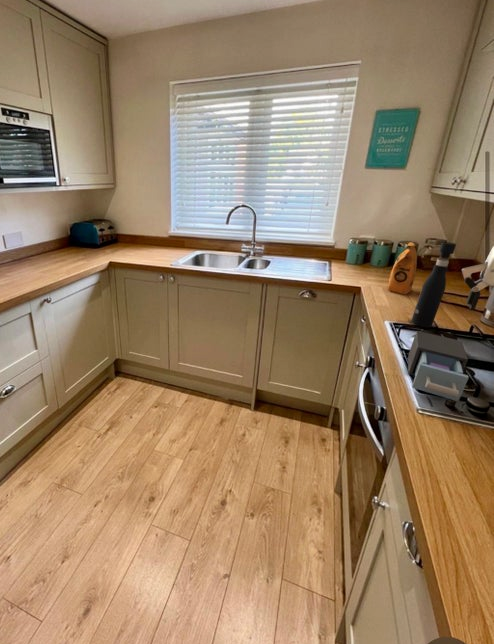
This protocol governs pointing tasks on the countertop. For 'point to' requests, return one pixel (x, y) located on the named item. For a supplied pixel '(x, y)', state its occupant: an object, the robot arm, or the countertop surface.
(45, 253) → the countertop surface
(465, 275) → the robot arm
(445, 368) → the lavender cube
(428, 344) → the compartment
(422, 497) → the countertop surface
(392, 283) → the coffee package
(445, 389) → the drawer
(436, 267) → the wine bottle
